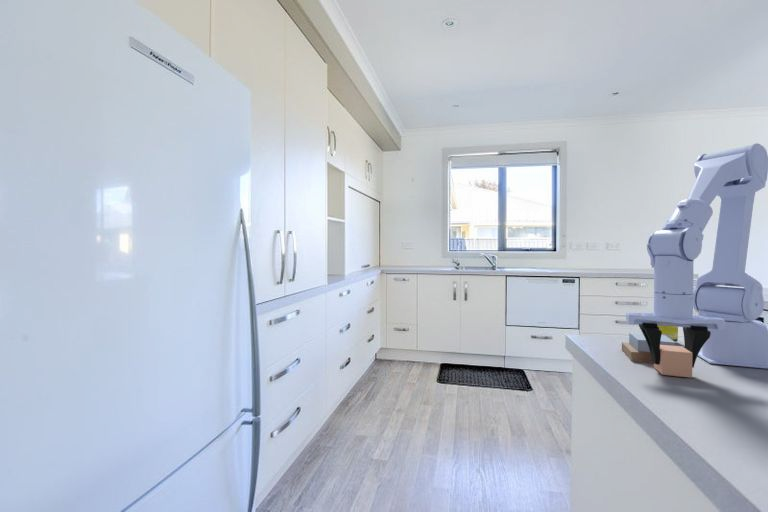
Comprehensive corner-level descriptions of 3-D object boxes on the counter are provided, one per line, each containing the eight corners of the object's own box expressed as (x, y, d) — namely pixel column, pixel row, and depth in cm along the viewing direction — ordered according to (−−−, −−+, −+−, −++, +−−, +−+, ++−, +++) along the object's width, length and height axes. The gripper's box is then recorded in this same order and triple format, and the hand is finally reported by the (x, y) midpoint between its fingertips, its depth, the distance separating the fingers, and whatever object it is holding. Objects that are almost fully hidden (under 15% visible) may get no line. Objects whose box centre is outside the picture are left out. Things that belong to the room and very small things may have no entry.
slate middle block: (663, 346, 78) (664, 334, 78) (675, 354, 72) (675, 342, 72) (629, 343, 80) (629, 332, 80) (637, 351, 74) (637, 339, 74)
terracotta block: (682, 369, 68) (682, 346, 68) (692, 377, 64) (692, 353, 64) (653, 366, 70) (653, 344, 70) (661, 374, 66) (662, 350, 65)
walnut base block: (664, 356, 79) (664, 345, 79) (678, 368, 71) (678, 355, 71) (621, 352, 82) (621, 342, 82) (631, 363, 74) (631, 351, 74)
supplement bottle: (682, 344, 86) (682, 310, 86) (660, 343, 87) (660, 309, 87) (670, 339, 91) (670, 307, 91) (649, 338, 92) (650, 306, 92)
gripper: (633, 293, 65) (632, 366, 66) (734, 297, 60) (733, 376, 60) (623, 289, 72) (622, 355, 72) (714, 292, 67) (713, 363, 67)
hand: (672, 364), depth 67 cm, fingers closed on terracotta block, 4 cm apart
